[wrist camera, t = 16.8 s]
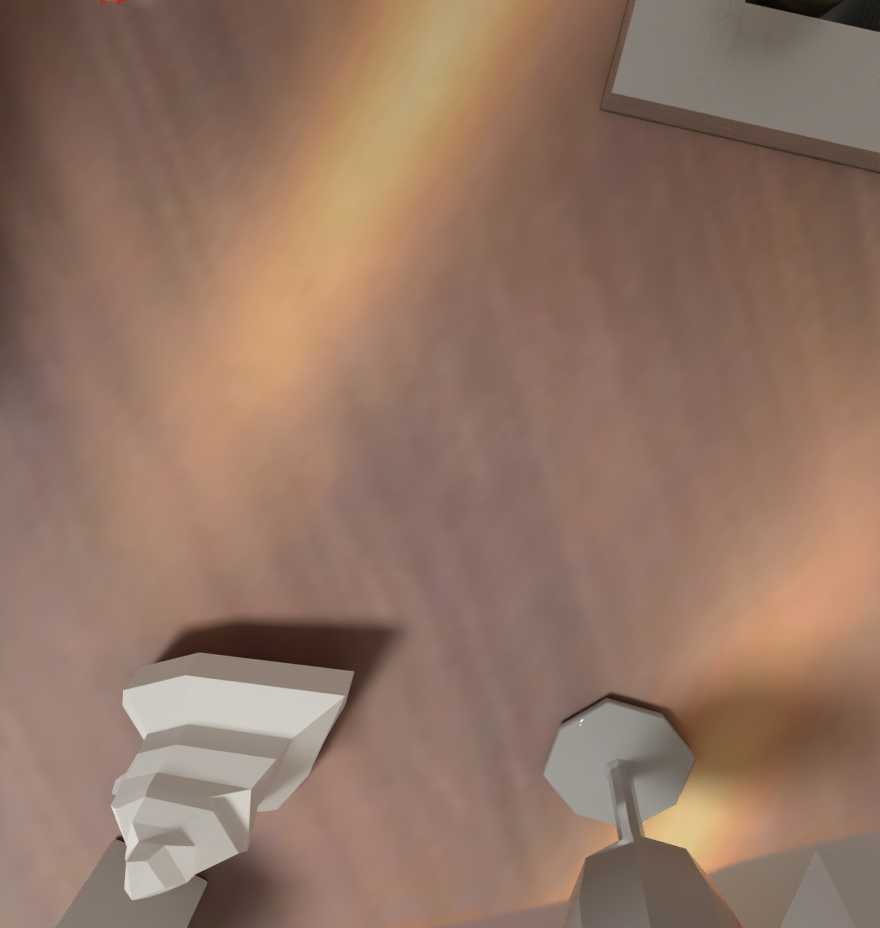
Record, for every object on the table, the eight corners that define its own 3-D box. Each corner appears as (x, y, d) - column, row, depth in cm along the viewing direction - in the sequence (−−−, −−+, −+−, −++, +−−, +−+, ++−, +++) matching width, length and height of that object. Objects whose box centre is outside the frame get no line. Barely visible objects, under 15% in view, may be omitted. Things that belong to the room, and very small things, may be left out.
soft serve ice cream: (372, 775, 51) (298, 1012, 39) (163, 736, 54) (34, 948, 42) (366, 639, 45) (276, 874, 33) (128, 601, 47) (-36, 808, 35)
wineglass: (720, 747, 46) (874, 1140, 26) (630, 839, 49) (708, 1262, 29) (602, 671, 46) (668, 1016, 26) (517, 769, 48) (517, 1153, 28)
